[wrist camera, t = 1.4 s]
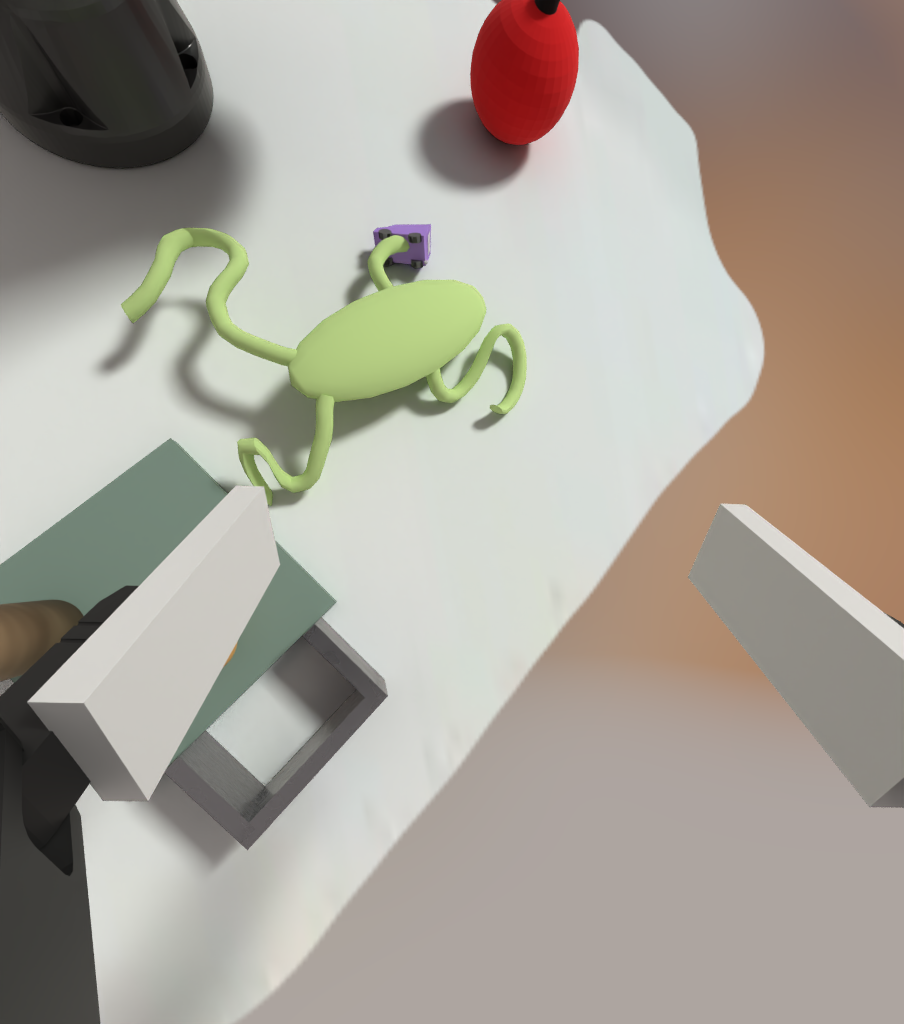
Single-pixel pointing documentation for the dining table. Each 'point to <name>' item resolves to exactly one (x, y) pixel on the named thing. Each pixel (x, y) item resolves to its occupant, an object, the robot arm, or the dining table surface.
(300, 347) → the figurine
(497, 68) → the ornament
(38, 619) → the peg
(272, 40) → the dining table surface
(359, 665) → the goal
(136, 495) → the mat
